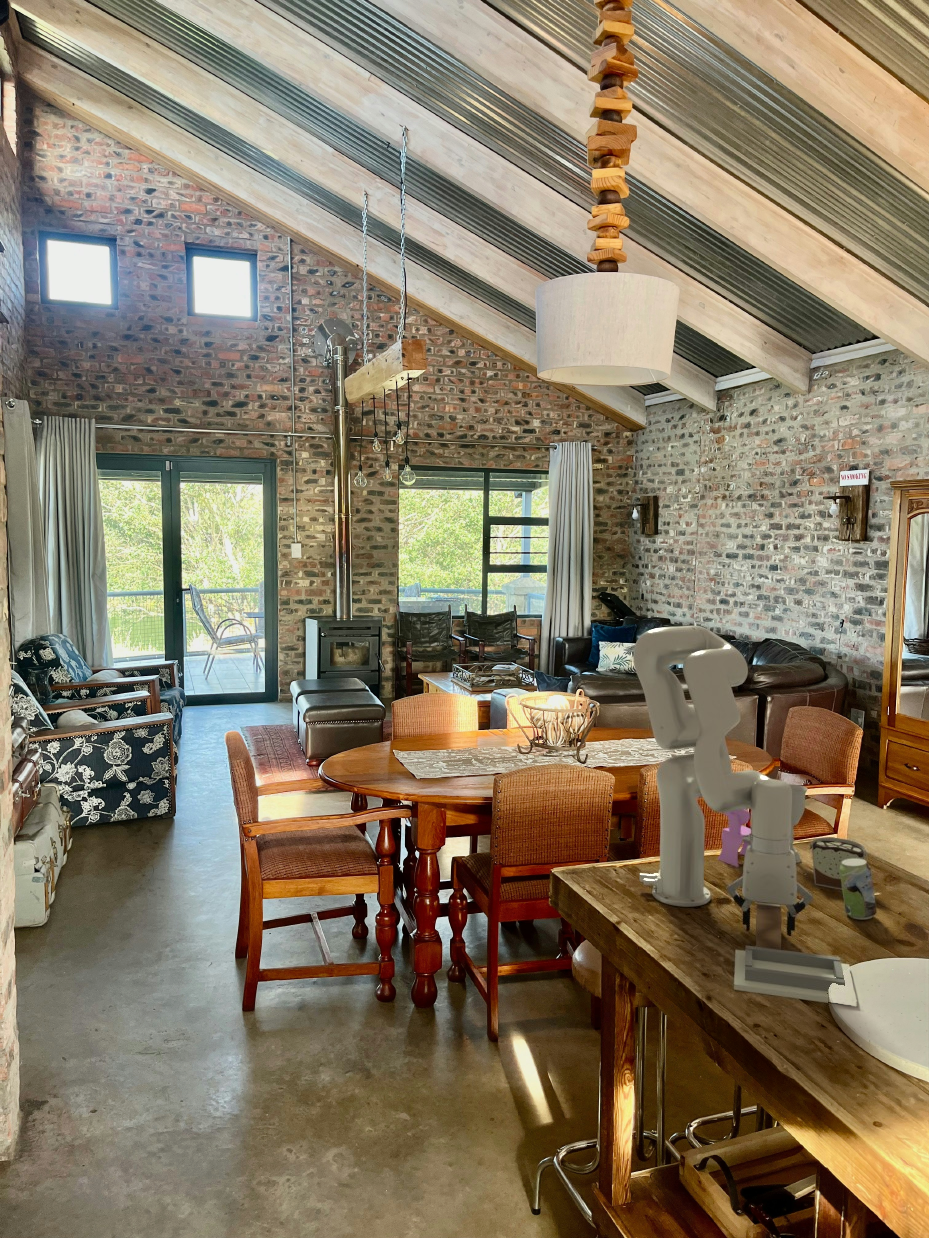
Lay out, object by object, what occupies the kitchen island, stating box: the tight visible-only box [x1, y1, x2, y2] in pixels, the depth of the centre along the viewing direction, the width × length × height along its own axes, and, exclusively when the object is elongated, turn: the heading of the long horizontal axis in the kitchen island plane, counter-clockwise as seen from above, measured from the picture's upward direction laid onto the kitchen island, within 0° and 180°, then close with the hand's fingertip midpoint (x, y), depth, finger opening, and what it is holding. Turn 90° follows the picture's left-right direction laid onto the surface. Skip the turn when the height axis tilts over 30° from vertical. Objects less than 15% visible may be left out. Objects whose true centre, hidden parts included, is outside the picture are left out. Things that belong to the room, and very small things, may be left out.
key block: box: [755, 902, 782, 950], centre depth 178 cm, size 4×11×7 cm, turn 162°
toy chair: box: [717, 809, 751, 868], centre depth 222 cm, size 8×9×15 cm
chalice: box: [788, 783, 808, 864], centre depth 222 cm, size 7×7×18 cm
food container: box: [808, 837, 868, 890], centre depth 206 cm, size 12×6×10 cm, turn 58°
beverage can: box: [840, 858, 878, 920], centre depth 189 cm, size 6×7×12 cm
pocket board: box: [733, 945, 851, 1004], centre depth 162 cm, size 20×14×3 cm
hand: (768, 930), depth 178 cm, fingers open, 7 cm apart
